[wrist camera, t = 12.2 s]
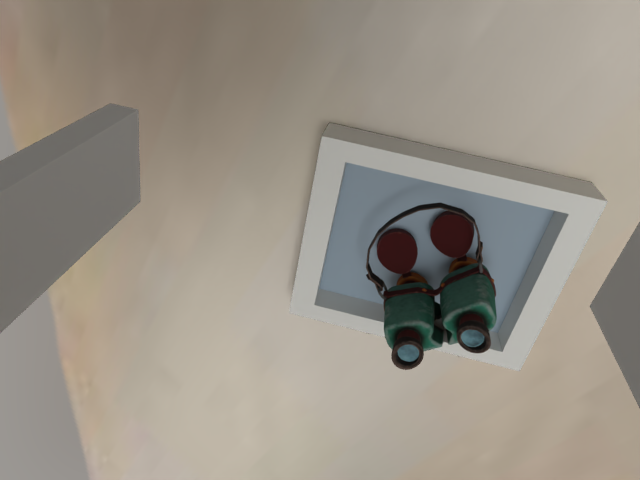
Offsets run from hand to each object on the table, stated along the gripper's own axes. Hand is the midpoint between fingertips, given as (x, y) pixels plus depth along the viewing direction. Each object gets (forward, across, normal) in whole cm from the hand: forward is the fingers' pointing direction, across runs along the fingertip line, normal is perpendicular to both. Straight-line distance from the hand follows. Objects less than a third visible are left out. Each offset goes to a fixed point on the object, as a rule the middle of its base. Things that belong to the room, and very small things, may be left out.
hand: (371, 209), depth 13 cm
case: (+25, +6, -14) cm, 29 cm away
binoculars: (+24, +6, -14) cm, 28 cm away
